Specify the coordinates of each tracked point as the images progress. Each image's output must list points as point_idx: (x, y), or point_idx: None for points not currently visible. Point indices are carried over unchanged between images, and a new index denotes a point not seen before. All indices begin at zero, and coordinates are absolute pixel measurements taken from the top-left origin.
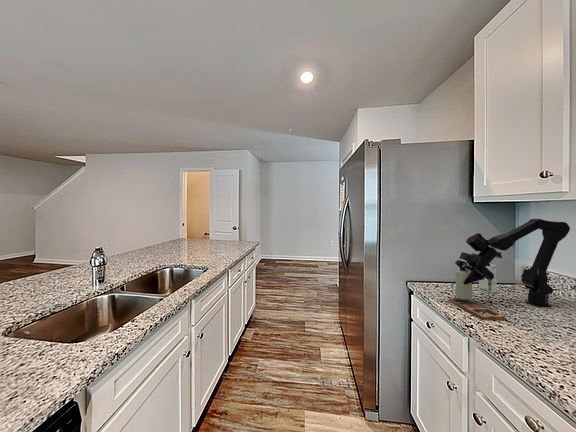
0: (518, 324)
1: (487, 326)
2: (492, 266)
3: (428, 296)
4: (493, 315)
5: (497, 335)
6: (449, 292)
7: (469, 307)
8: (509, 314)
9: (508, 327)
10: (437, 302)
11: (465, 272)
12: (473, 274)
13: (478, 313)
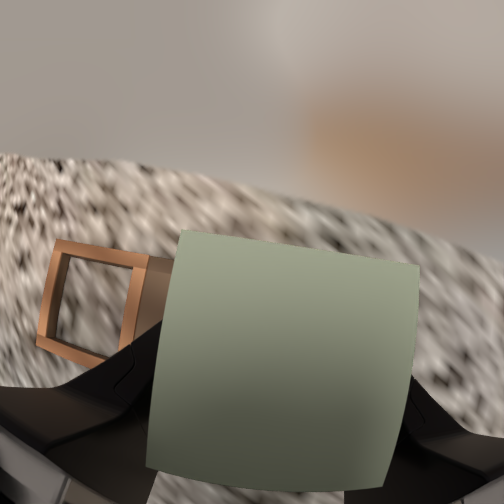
0: (14, 346)
1: (34, 215)
2: None
3: (418, 231)
4: (50, 304)
5: (5, 194)
6: (454, 400)
7: (162, 289)
8: None
9: (9, 282)
10: (322, 207)
11: (226, 382)
12: (55, 392)
13: (81, 254)
